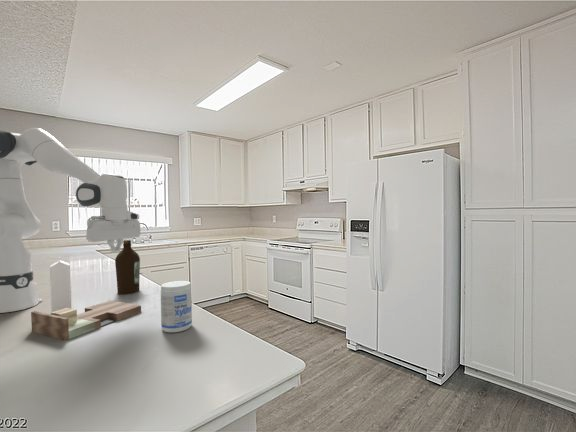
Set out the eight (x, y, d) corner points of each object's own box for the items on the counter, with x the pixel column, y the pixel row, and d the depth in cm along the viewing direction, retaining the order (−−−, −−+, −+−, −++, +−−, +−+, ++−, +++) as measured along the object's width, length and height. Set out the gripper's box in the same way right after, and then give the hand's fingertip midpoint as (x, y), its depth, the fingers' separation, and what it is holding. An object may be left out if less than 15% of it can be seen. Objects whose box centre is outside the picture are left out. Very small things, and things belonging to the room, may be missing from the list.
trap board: (31, 331, 98) (31, 312, 98) (109, 306, 123) (109, 290, 123) (65, 340, 91) (64, 319, 91) (141, 311, 115) (140, 295, 115)
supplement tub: (179, 335, 93) (178, 288, 93) (154, 332, 96) (153, 286, 95) (198, 323, 102) (196, 281, 102) (174, 321, 105) (173, 279, 105)
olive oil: (112, 295, 139) (111, 242, 139) (120, 289, 149) (118, 239, 149) (137, 293, 141) (135, 241, 141) (143, 288, 152) (141, 239, 151)
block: (51, 324, 97) (50, 312, 97) (67, 319, 102) (67, 307, 102) (60, 326, 95) (60, 314, 95) (77, 321, 100) (76, 309, 100)
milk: (51, 318, 110) (48, 259, 110) (52, 314, 115) (49, 257, 114) (72, 314, 114) (69, 257, 113) (71, 310, 119) (69, 255, 118)
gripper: (93, 216, 105) (94, 255, 105) (142, 215, 123) (143, 248, 124) (81, 216, 107) (82, 254, 107) (132, 215, 126) (132, 247, 126)
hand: (115, 251), depth 116 cm, fingers closed
